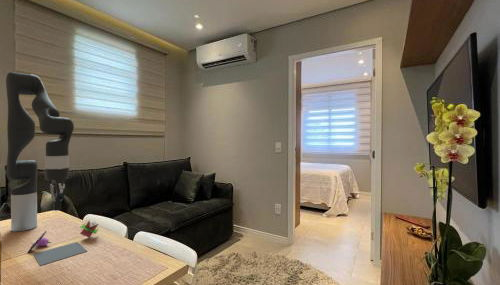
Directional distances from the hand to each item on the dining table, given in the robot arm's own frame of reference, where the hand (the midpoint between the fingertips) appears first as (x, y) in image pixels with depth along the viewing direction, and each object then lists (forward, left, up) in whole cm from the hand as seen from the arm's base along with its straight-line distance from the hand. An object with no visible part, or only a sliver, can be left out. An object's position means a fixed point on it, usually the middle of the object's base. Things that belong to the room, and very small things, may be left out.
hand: (57, 210), depth 95 cm
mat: (+5, 0, -16) cm, 16 cm away
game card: (-3, -5, -14) cm, 15 cm away
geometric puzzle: (-3, +12, -16) cm, 20 cm away
